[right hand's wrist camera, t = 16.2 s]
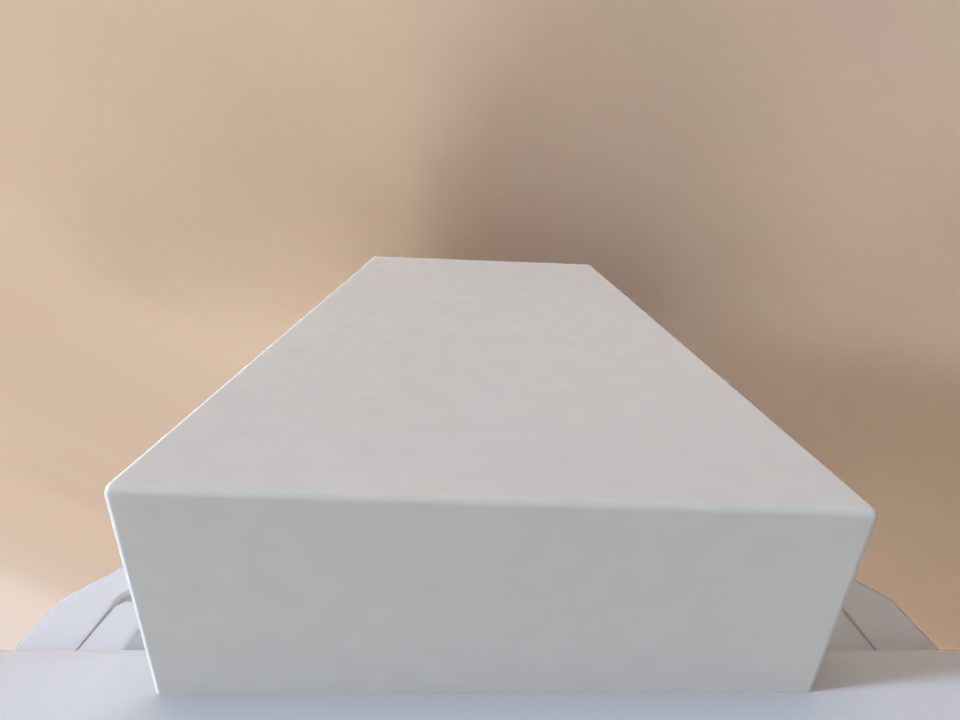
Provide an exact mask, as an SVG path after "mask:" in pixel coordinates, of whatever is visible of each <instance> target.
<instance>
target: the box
mask: <svg viewBox="0 0 960 720" xmlns="http://www.w3.org/2000/svg"><path fill="white" fill-rule="evenodd" d="M104 495H105V499H106V502H107V506H108V510H109V514H110V518H111V521H112V525H113V529H114V533H115V537H116V540H117V544H118V548H119V552H120V556H121V559H122V563H123V567H124V571H125V575H126V578H127V582H128V586H129V590H130V594H131V597H132V601H133V605H134V609H135V613H136V616H137V620H138V624H139V628H140V632H141V636H142V639H143V643H144V647H145V651H146V655H147V658H148V662H149V666H150V670H151V674H152V677H153V681H154V685H155V689H156V693H158V694H160V695H252V694H500V693H747V692H809V691H811V690H812V687H813V685H814V682H815V679H816V677H817V674H818V672H819V669H820V666H821V664H822V661H823V658H824V656H825V653H826V651H827V648H828V645H829V643H830V640H831V638H832V635H833V632H834V630H835V627H836V624H837V622H838V619H839V617H840V614H841V611H842V609H843V606H844V604H845V601H846V598H847V596H848V593H849V590H850V588H851V585H852V583H853V580H854V577H855V575H856V572H857V570H858V567H859V564H860V562H861V559H862V556H863V554H864V551H865V549H866V546H867V543H868V541H869V538H870V535H871V533H872V530H873V528H874V525H875V522H876V520H877V511H876V509H875V508H874V507H873V506H872V505H871V504H870V503H868V502H867V501H866V500H865V499H864V498H863V497H861V496H860V495H859V494H858V493H857V492H856V491H854V490H853V489H852V488H851V487H850V486H849V485H847V484H846V483H845V482H844V481H843V480H842V479H840V478H839V477H838V476H837V475H836V474H834V473H833V472H832V471H831V470H830V469H829V468H827V467H826V466H825V465H824V464H823V463H822V462H820V461H819V460H818V459H817V458H816V457H815V456H813V455H812V454H811V453H810V452H809V451H808V450H806V449H805V448H804V447H803V446H802V445H801V444H799V443H798V442H797V441H796V440H795V439H793V438H792V437H791V436H790V435H789V434H788V433H786V432H785V431H784V430H783V429H782V428H781V427H779V426H778V425H777V424H776V423H775V422H774V421H772V420H771V419H770V418H769V417H768V416H767V415H765V414H764V413H763V412H762V411H761V410H759V409H758V408H757V407H756V406H755V405H754V404H752V403H751V402H750V401H749V400H748V399H747V398H745V397H744V396H743V395H742V394H741V393H740V392H738V391H737V390H736V389H735V388H734V387H733V386H731V385H730V384H729V383H728V382H727V381H725V380H724V379H723V378H722V377H721V376H720V375H718V374H717V373H716V372H715V371H714V370H713V369H711V368H710V367H709V366H708V365H707V364H706V363H704V362H703V361H702V360H701V359H700V358H699V357H697V356H696V355H695V354H694V353H693V352H692V351H690V350H689V349H688V348H687V347H686V346H684V345H683V344H682V343H681V342H680V341H679V340H677V339H676V338H675V337H674V336H673V335H672V334H670V333H669V332H668V331H667V330H666V329H665V328H663V327H662V326H661V325H660V324H659V323H658V322H656V321H655V320H654V319H653V318H652V317H650V316H649V315H648V314H647V313H646V312H645V311H643V310H642V309H641V308H640V307H639V306H638V305H636V304H635V303H634V302H633V301H632V300H631V299H629V298H628V297H627V296H626V295H625V294H624V293H622V292H621V291H620V290H619V289H618V288H617V287H615V286H614V285H613V284H612V283H611V282H609V281H608V280H607V279H606V278H605V277H604V276H602V275H601V274H600V273H599V272H598V271H597V270H595V269H594V268H593V267H592V266H591V265H587V264H561V263H536V262H510V261H484V260H459V259H433V258H407V257H382V256H375V257H373V258H372V259H371V260H370V261H369V262H368V263H366V264H365V265H364V266H363V267H362V268H361V269H359V270H358V271H357V272H356V273H355V274H354V275H352V276H351V277H350V278H349V279H348V280H347V281H345V282H344V283H343V284H342V285H341V286H339V287H338V288H337V289H336V290H335V291H334V292H332V293H331V294H330V295H329V296H328V297H327V298H325V299H324V300H323V301H322V302H321V303H320V304H318V305H317V306H316V307H315V308H314V309H313V310H311V311H310V312H309V313H308V314H307V315H305V316H304V317H303V318H302V319H301V320H300V321H298V322H297V323H296V324H295V325H294V326H293V327H291V328H290V329H289V330H288V331H287V332H286V333H284V334H283V335H282V336H281V337H280V338H279V339H277V340H276V341H275V342H274V343H273V344H271V345H270V346H269V347H268V348H267V349H266V350H264V351H263V352H262V353H261V354H260V355H259V356H257V357H256V358H255V359H254V360H253V361H252V362H250V363H249V364H248V365H247V366H246V367H245V368H243V369H242V370H241V371H240V372H239V373H238V374H236V375H235V376H234V377H233V378H232V379H230V380H229V381H228V382H227V383H226V384H225V385H223V386H222V387H221V388H220V389H219V390H218V391H216V392H215V393H214V394H213V395H212V396H211V397H209V398H208V399H207V400H206V401H205V402H204V403H202V404H201V405H200V406H199V407H198V408H197V409H195V410H194V411H193V412H192V413H191V414H189V415H188V416H187V417H186V418H185V419H184V420H182V421H181V422H180V423H179V424H178V425H177V426H175V427H174V428H173V429H172V430H171V431H170V432H168V433H167V434H166V435H165V436H164V437H163V438H161V439H160V440H159V441H158V442H157V443H155V444H154V445H153V446H152V447H151V448H150V449H148V450H147V451H146V452H145V453H144V454H143V455H141V456H140V457H139V458H138V459H137V460H136V461H134V462H133V463H132V464H131V465H130V466H129V467H127V468H126V469H125V470H124V471H123V472H121V473H120V474H119V475H118V476H117V477H116V478H114V479H113V480H112V481H111V482H110V483H109V484H107V486H106V488H105V493H104Z"/></svg>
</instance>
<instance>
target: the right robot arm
mask: <svg viewBox="0 0 960 720" xmlns="http://www.w3.org/2000/svg"><path fill="white" fill-rule="evenodd" d="M0 720H960V650H939V649H938V648H937V647H936V646H935V645H934V644H933V643H932V642H931V641H930V640H929V639H928V638H927V636H926V635H925V634H924V633H923V632H922V631H921V630H920V629H919V628H918V627H917V626H916V625H915V624H914V623H913V622H912V621H911V620H910V619H909V618H908V617H907V615H906V614H905V613H904V612H903V611H902V610H901V609H900V608H899V607H898V606H897V605H896V604H895V603H894V602H893V601H892V600H891V599H890V598H888V597H886V596H884V595H882V594H880V593H878V592H877V591H875V590H873V589H871V588H869V587H867V586H865V585H863V584H862V583H860V582H858V581H856V580H853V583H852V585H851V588H850V590H849V593H848V596H847V598H846V601H845V604H844V606H843V609H842V611H841V614H840V617H839V619H838V622H837V624H836V627H835V630H834V632H833V635H832V638H831V640H830V643H829V645H828V648H827V651H826V653H825V656H824V658H823V661H822V664H821V666H820V669H819V672H818V674H817V677H816V679H815V682H814V685H813V687H812V690H811V691H809V692H747V693H500V694H252V695H160V694H158V693H156V689H155V685H154V681H153V677H152V674H151V670H150V666H149V662H148V658H147V655H146V651H145V647H144V643H143V639H142V636H141V632H140V628H139V624H138V620H137V616H136V613H135V609H134V605H133V601H132V597H131V594H130V590H129V586H128V582H127V578H126V575H125V571H124V567H122V568H120V569H118V570H116V571H114V572H112V573H111V574H109V575H107V576H105V577H103V578H101V579H99V580H97V581H95V582H94V583H92V584H90V585H88V586H86V587H84V588H82V589H80V590H78V591H77V592H75V593H73V594H71V595H69V596H67V597H65V598H63V599H62V600H61V601H60V602H59V603H58V605H57V606H56V607H55V608H54V609H53V610H52V611H51V612H50V613H49V614H48V615H47V616H46V617H45V618H44V619H43V620H42V621H41V622H40V623H39V624H38V625H37V626H36V627H35V628H34V629H33V630H32V631H31V632H30V633H29V634H28V635H27V636H26V637H25V638H24V639H23V640H22V641H21V642H20V644H19V645H18V646H17V647H16V648H15V649H14V650H0Z"/></svg>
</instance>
